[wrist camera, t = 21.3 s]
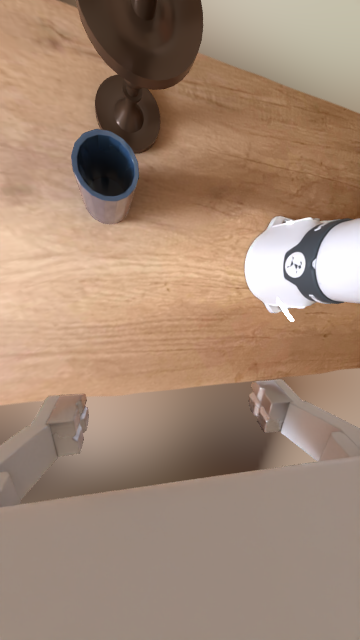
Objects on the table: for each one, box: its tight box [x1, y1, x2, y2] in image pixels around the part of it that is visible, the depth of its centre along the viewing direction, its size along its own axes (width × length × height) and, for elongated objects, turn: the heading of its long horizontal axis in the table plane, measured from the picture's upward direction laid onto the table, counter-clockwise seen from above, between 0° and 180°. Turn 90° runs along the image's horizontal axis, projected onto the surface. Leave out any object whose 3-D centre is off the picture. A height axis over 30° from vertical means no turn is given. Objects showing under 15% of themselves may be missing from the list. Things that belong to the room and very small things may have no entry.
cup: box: [71, 129, 139, 224], centre depth 28 cm, size 7×7×11 cm
